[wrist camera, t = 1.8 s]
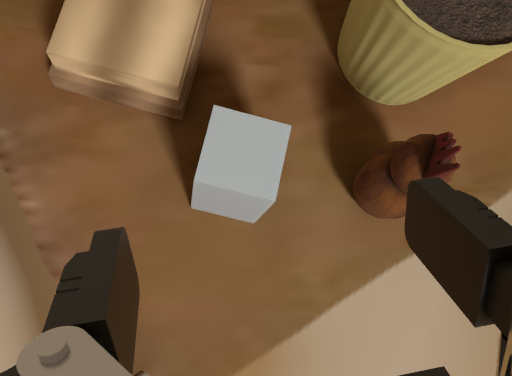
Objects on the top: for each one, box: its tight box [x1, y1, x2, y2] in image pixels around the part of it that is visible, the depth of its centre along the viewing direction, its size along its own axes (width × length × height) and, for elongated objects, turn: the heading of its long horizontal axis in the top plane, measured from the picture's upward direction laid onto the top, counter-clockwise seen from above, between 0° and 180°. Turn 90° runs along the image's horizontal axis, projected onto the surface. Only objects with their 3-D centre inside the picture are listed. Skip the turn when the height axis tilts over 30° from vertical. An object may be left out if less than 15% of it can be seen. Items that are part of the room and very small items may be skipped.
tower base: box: [48, 0, 213, 120], centre depth 44 cm, size 12×12×3 cm
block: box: [191, 105, 291, 223], centre depth 38 cm, size 6×6×10 cm
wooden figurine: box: [352, 132, 461, 218], centre depth 38 cm, size 7×6×15 cm
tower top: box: [46, 0, 206, 101], centre depth 41 cm, size 11×11×3 cm
